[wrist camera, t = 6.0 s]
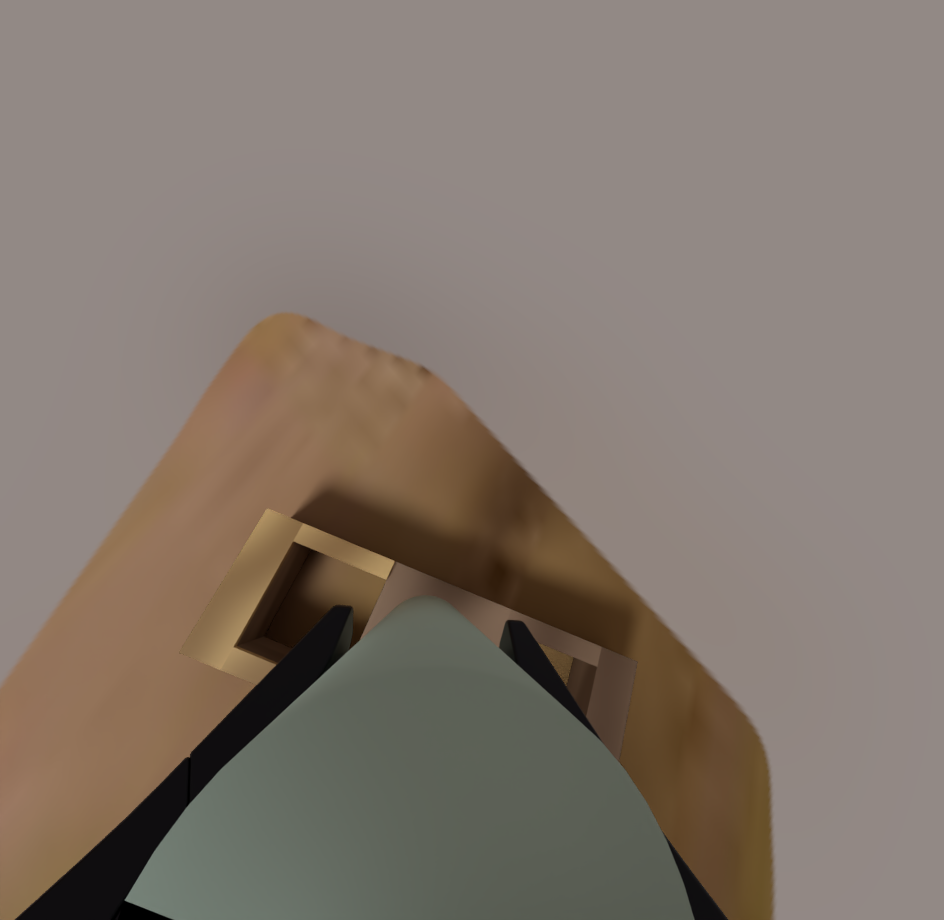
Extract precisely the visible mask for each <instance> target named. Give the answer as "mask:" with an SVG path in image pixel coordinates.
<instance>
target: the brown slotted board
mask: <svg viewBox="0 0 944 920" xmlns="http://www.w3.org/2000/svg"><path fill="white" fill-rule="evenodd" d="M311 549H313V550H316V551H318V552H320V553H323V554H325V555H328V556H330V557H333V558H335V559H337V560H340V561H342V562H345V563H347V564H349V565H352V566H354V567H357V568H359V569H361V570H364V571H366V572H369V573H371V574H374V575H376V576H378V577H381V578H383V579H386V580H387V581H386V583H385V585H384V587H383V589H382V592H381V594H380V596H379V598H378V601H377V603H376V605H375V607H374V609H373V612H372V614H371V616H370V618H369V621H368V623H367V625H366V627H365V629H364V632H363V634H362V636H361V638H360V640H361V639H362V638H363V637H364V636H365V635H366V634H367V633H368V632H369V631H370V630H372V629H373V628H374V627H375V626H376V625H377V624H378V623H379V622H380V621H381V620H382V619H383V618H385V617H386V616H387V615H388V614H389V613H390V612H391V611H392V610H393V609H394V608H395V607H396V606H398V605H399V604H400V603H402V602H403V601H405V600H407V599H410V598H412V597H416V596H423V595H428V596H435V597H438V598H441V599H443V600H445V601H447V602H448V603H450V604H451V605H452V606H453V607H454V608H455V609H456V610H458V611H459V612H460V613H461V614H462V615H463V616H464V617H465V618H466V619H468V620H469V621H470V622H471V623H472V624H473V625H474V626H475V627H476V628H477V629H479V630H480V631H481V632H482V633H483V634H484V635H485V636H486V637H487V638H488V639H490V640H491V641H492V642H493V643H494V644H495V645H496V646H497V647H498V648H499V644H500V640H501V636H502V632H503V629H504V625H505V622H506V621H507V620H520V621H523V622H524V623H525V624H526V626H527V627H528V629H529V630H530V632H531V634H532V635H533V637H534V638H535V640H536V641H537V642H538V643H541V644H543V645H545V646H548V647H550V648H553V649H555V650H558V651H560V652H562V653H565V654H567V655H570V656H572V657H574V659H573V663H572V667H571V671H570V675H569V679H568V683H567V688H568V690H569V691H570V693H571V695H572V696H573V698H574V699H575V701H576V702H577V704H578V705H579V707H580V708H581V710H582V711H583V713H584V714H585V716H586V717H587V719H588V720H589V722H590V724H591V725H592V727H593V728H594V730H595V731H596V733H597V734H598V736H599V737H600V739H601V740H602V742H603V743H604V745H605V746H606V748H607V749H608V750H609V751H610V752H611V754H612V755H613V756H614V757H615V758H616V760H617V761H618V762H619V759H620V754H621V749H622V743H623V738H624V732H625V727H626V722H627V716H628V711H629V706H630V700H631V695H632V689H633V684H634V679H635V673H636V668H637V661H635V660H632V659H630V658H627V657H625V656H623V655H620V654H618V653H615V652H613V651H611V650H608V649H606V648H603V647H601V646H598V645H596V644H594V643H591V642H589V641H586V640H584V639H582V638H579V637H577V636H574V635H572V634H570V633H567V632H565V631H562V630H560V629H557V628H555V627H553V626H550V625H548V624H545V623H543V622H541V621H538V620H536V619H533V618H531V617H528V616H526V615H524V614H521V613H519V612H516V611H514V610H512V609H509V608H507V607H504V606H502V605H499V604H497V603H495V602H492V601H490V600H487V599H485V598H483V597H480V596H478V595H475V594H473V593H470V592H468V591H466V590H463V589H461V588H458V587H456V586H454V585H451V584H449V583H446V582H444V581H441V580H439V579H437V578H434V577H432V576H429V575H427V574H425V573H422V572H420V571H417V570H415V569H413V568H410V567H408V566H405V565H403V564H400V563H398V562H396V561H393V560H391V559H389V558H386V557H384V556H381V555H379V554H377V553H374V552H372V551H369V550H367V549H364V548H362V547H360V546H357V545H355V544H352V543H350V542H348V541H345V540H343V539H340V538H338V537H335V536H333V535H331V534H328V533H326V532H323V531H321V530H319V529H316V528H314V527H311V526H309V525H307V524H304V523H302V522H299V521H297V520H294V519H292V518H290V517H287V516H285V515H282V514H280V513H278V512H275V511H273V510H270V509H268V508H267V509H266V511H265V513H264V514H263V516H262V517H261V519H260V521H259V522H258V524H257V526H256V527H255V529H254V531H253V532H252V534H251V535H250V537H249V539H248V540H247V542H246V544H245V545H244V547H243V549H242V550H241V552H240V553H239V555H238V557H237V558H236V560H235V562H234V563H233V565H232V566H231V568H230V570H229V571H228V573H227V575H226V576H225V578H224V580H223V581H222V583H221V584H220V586H219V588H218V589H217V591H216V593H215V594H214V596H213V598H212V599H211V601H210V602H209V604H208V606H207V607H206V609H205V611H204V612H203V614H202V616H201V617H200V619H199V620H198V622H197V624H196V625H195V627H194V629H193V630H192V632H191V634H190V635H189V637H188V638H187V640H186V642H185V643H184V645H183V647H182V648H181V650H180V652H179V653H180V654H183V655H185V656H188V657H190V658H192V659H195V660H197V661H200V662H202V663H204V664H207V665H209V666H212V667H214V668H216V669H219V670H221V671H224V672H226V673H228V674H231V675H233V676H236V677H238V678H240V679H243V680H245V681H248V682H250V683H252V684H255V685H257V684H258V683H259V682H260V681H261V680H262V679H263V678H264V677H265V676H266V675H267V674H268V673H269V672H270V671H271V670H272V669H273V668H274V667H275V666H276V665H277V664H278V663H279V661H280V660H281V659H282V658H283V657H284V656H285V655H286V654H287V653H288V652H289V651H290V650H291V649H292V648H290V647H288V646H285V645H283V644H281V643H278V642H276V641H273V640H271V639H269V638H266V637H264V635H265V633H266V631H267V629H268V628H269V626H270V624H271V622H272V620H273V618H274V617H275V615H276V613H277V611H278V609H279V607H280V605H281V604H282V602H283V600H284V598H285V596H286V594H287V593H288V591H289V589H290V587H291V585H292V583H293V581H294V580H295V578H296V576H297V574H298V572H299V570H300V568H301V567H302V565H303V563H304V561H305V559H306V557H307V556H308V554H309V552H310V550H311Z"/></svg>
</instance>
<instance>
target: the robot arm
mask: <svg viewBox="0 0 944 920" xmlns="http://www.w3.org/2000/svg"><path fill="white" fill-rule="evenodd" d="M352 634H353V608H352V607H351V606H346V605H335V606H333V607H332V608H331V609H330V610H329V611H328V612H327V613H326V614H325V615H324V616H323V617H322V618H321V619H320V620H319V621H318V622H317V623H316V624H315V625H314V627H313V628H312V629H311V630H310V631H309V632H308V633H307V634H306V635H305V636H304V637H303V638H302V639H301V640H300V641H299V642H298V643H297V644H296V645H295V646H294V647H293V648H292V649H291V650H290V651H289V652H288V653H287V654H286V655H285V656H284V657H283V658H282V659H281V660H280V661H279V663H278V664H277V665H276V666H275V667H274V668H273V669H272V670H271V671H270V672H269V673H268V674H267V675H266V676H265V677H264V678H263V679H262V680H261V681H260V682H259V683H258V684H257V685H256V686H255V687H254V688H253V689H252V690H251V691H250V692H249V693H248V694H247V695H246V696H245V697H244V699H243V700H242V701H241V702H240V703H239V704H238V705H237V706H236V707H235V708H234V709H233V710H232V711H231V712H230V713H229V714H228V715H227V716H226V717H225V718H224V719H223V720H222V721H221V722H220V723H219V724H218V725H217V726H216V727H215V728H214V729H213V730H212V731H211V732H210V733H209V735H208V736H207V737H206V738H205V739H204V740H203V741H202V742H201V743H200V744H199V745H198V746H197V747H196V748H195V749H194V750H193V751H192V752H191V754H190V758H189V757H187V758H185V759H184V760H183V761H182V762H181V763H180V764H179V765H178V766H177V767H176V768H175V769H174V770H173V771H172V772H171V773H170V774H169V775H168V776H167V778H166V779H165V780H164V781H163V782H162V783H161V784H160V785H159V786H158V787H157V788H156V789H155V790H154V791H153V792H152V793H151V794H150V795H149V796H148V797H147V798H145V799H144V800H143V801H142V802H141V803H140V804H139V805H138V806H137V807H136V808H135V809H134V810H133V811H132V812H131V813H130V814H129V815H128V816H127V817H126V818H125V819H124V820H123V821H122V822H121V823H120V824H119V825H118V826H117V827H116V828H115V829H113V830H112V831H111V832H110V833H109V834H108V835H107V836H106V837H105V838H104V839H103V840H102V841H101V842H99V843H98V844H97V845H96V846H95V847H94V848H93V849H92V850H91V851H90V852H89V853H88V854H87V855H85V856H84V857H83V858H82V859H81V860H80V861H79V862H78V863H77V864H76V865H75V866H73V867H72V868H71V869H70V870H69V871H68V872H67V873H66V874H65V875H63V876H62V877H61V878H60V879H59V880H58V881H57V882H56V883H55V884H54V885H52V886H51V887H50V888H49V889H48V890H47V891H46V892H45V893H44V894H42V895H41V896H40V897H39V898H38V899H37V900H36V901H35V902H34V903H33V904H31V905H30V906H29V907H28V908H27V909H26V910H25V911H24V912H23V913H22V914H20V915H19V916H18V917H17V918H16V919H15V920H118V917H119V915H120V912H121V909H122V906H123V903H124V901H125V899H126V897H127V896H128V894H129V892H130V891H131V889H132V887H133V886H134V884H135V882H136V881H137V879H138V877H139V876H140V874H141V873H142V871H143V869H144V868H145V866H146V864H147V863H148V861H149V859H150V858H151V856H152V854H153V853H154V851H155V850H156V848H157V847H158V846H159V844H160V843H161V842H162V840H163V839H164V837H165V836H166V835H167V833H168V832H169V831H170V829H171V828H172V827H173V825H174V824H175V823H176V821H177V820H178V818H179V817H180V816H181V814H182V813H183V812H184V810H185V809H186V808H187V806H188V805H189V804H190V803H191V802H192V801H193V800H194V799H195V797H196V796H197V795H198V794H199V793H200V792H201V791H202V790H203V789H204V787H205V786H206V785H207V784H208V783H209V782H210V781H211V780H212V779H213V777H214V776H215V775H216V774H217V773H218V772H219V771H220V770H221V769H222V768H223V767H224V766H225V765H226V764H227V763H228V762H229V761H230V760H231V759H232V758H234V757H235V756H236V755H237V754H238V753H239V752H240V751H241V750H242V749H243V748H244V747H245V746H246V745H248V744H249V743H250V742H251V741H252V740H253V739H254V738H255V737H256V736H257V735H258V734H259V733H260V732H262V731H263V730H264V729H265V728H266V727H267V726H268V725H269V724H270V723H271V722H272V721H273V720H275V719H276V718H277V717H278V716H279V715H280V714H281V713H282V712H283V711H284V710H285V709H286V708H287V707H289V706H290V705H291V704H292V703H293V702H294V701H295V700H296V699H297V698H298V697H299V696H300V695H301V694H303V693H304V692H305V691H306V690H307V689H308V688H309V687H310V686H311V685H312V684H313V683H314V682H315V681H317V680H318V679H319V678H320V677H321V676H322V675H323V674H324V673H325V672H326V671H327V670H328V669H330V668H331V667H332V666H333V665H334V664H335V663H336V662H337V661H338V660H339V659H340V658H341V657H342V656H344V655H345V654H346V653H347V652H348V651H349V647H350V643H351V639H352ZM499 649H501V650H502V651H503V652H504V653H505V654H506V655H507V656H508V657H509V658H511V659H512V660H513V661H514V662H515V663H516V664H517V665H518V666H519V667H520V668H522V669H523V670H524V671H525V672H526V673H527V674H528V675H529V676H530V677H531V678H533V679H534V680H535V681H536V682H537V683H538V684H539V685H540V686H541V687H542V688H544V689H545V690H546V691H547V692H548V693H549V694H550V695H551V696H552V697H553V698H555V699H556V700H557V701H558V702H559V703H560V704H561V705H562V706H563V707H565V708H566V709H567V710H568V711H569V712H570V713H571V714H572V715H573V716H574V717H576V718H577V719H578V720H579V721H580V722H581V723H582V724H583V725H584V726H585V727H586V728H587V729H588V730H590V731H591V732H592V733H593V734H594V735H595V736H596V737H597V738H598V739H599V740H600V741H601V742H602V740H601V739H600V737H599V736H598V734H597V733H596V731H595V730H594V728H593V727H592V725H591V724H590V722H589V720H588V719H587V717H586V716H585V714H584V713H583V711H582V710H581V708H580V707H579V705H578V704H577V702H576V701H575V699H574V698H573V696H572V695H571V693H570V691H569V690H568V688H567V687H566V685H565V684H564V682H563V681H562V679H561V678H560V676H559V675H558V673H557V672H556V670H555V669H554V667H553V666H552V664H551V663H550V661H549V659H548V658H547V656H546V655H545V653H544V652H543V650H542V649H541V647H540V646H539V644H538V643H537V641H536V640H535V638H534V637H533V635H532V634H531V632H530V630H529V629H528V627H527V626H526V624H525V623H524V622H523V621H520V620H507V621H506V622H505V625H504V629H503V632H502V636H501V640H500V644H499ZM602 743H603V742H602ZM603 744H604V743H603ZM661 831H662V830H661ZM662 833H663V832H662ZM663 834H664V833H663ZM664 836H665V835H664ZM665 838H666V840H667V843H668V845H669V848H670V850H671V853H672V855H673V858H674V860H675V863H676V865H677V868H678V870H679V873H680V875H681V878H682V880H683V883H684V886H685V889H686V893H687V896H688V900H689V903H690V906H691V910H692V913H693V916H694V920H728V919H727V918H726V916H725V915H724V914H723V912H722V911H721V910H720V908H719V907H718V906H717V904H716V903H715V902H714V900H713V899H712V898H711V896H710V895H709V894H708V893H707V891H706V890H705V889H704V887H703V886H702V885H701V883H700V882H699V881H698V879H697V878H696V877H695V875H694V874H693V873H692V871H691V870H690V869H689V867H688V866H687V865H686V863H685V862H684V861H683V859H682V858H681V856H680V855H679V854H678V852H677V851H676V850H675V848H674V847H673V846H672V844H671V843H670V841H669V840H668V839H667V837H666V836H665Z"/></svg>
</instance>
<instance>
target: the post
mask: <svg viewBox="0 0 944 920" xmlns="http://www.w3.org/2000/svg"><path fill="white" fill-rule="evenodd" d="M118 920H694V916H693V913H692V910H691V906H690V903H689V900H688V896H687V893H686V889H685V886H684V883H683V880H682V878H681V875H680V873H679V870H678V868H677V865H676V863H675V860H674V858H673V855H672V853H671V850H670V848H669V845H668V843H667V840H666V838H665V836H664V834H663V833H662V831H661V829H660V827H659V825H658V823H657V821H656V819H655V817H654V815H653V813H652V811H651V809H650V808H649V806H648V804H647V802H646V800H645V799H644V797H643V796H642V794H641V793H640V791H639V790H638V788H637V787H636V785H635V784H634V782H633V781H632V779H631V778H630V776H629V775H628V773H627V772H626V770H625V769H624V768H623V767H622V765H621V764H620V763H619V762H618V761H617V760H616V758H615V757H614V756H613V755H612V754H611V752H610V751H609V750H608V749H607V748H606V746H605V745H604V744H603V743H602V742H601V741H600V740H599V739H598V738H597V737H596V736H595V735H594V734H593V733H592V732H591V731H590V730H588V729H587V728H586V727H585V726H584V725H583V724H582V723H581V722H580V721H579V720H578V719H577V718H576V717H574V716H573V715H572V714H571V713H570V712H569V711H568V710H567V709H566V708H565V707H563V706H562V705H561V704H560V703H559V702H558V701H557V700H556V699H555V698H553V697H552V696H551V695H550V694H549V693H548V692H547V691H546V690H545V689H544V688H542V687H541V686H540V685H539V684H538V683H537V682H536V681H535V680H534V679H533V678H531V677H530V676H529V675H528V674H527V673H526V672H525V671H524V670H523V669H522V668H520V667H519V666H518V665H517V664H516V663H515V662H514V661H513V660H512V659H511V658H509V657H508V656H507V655H506V654H505V653H504V652H503V651H502V650H501V649H499V648H498V647H497V646H496V645H495V644H494V643H493V642H492V641H491V640H490V639H488V638H487V637H486V636H485V635H484V634H483V633H482V632H481V631H480V630H479V629H477V628H476V627H475V626H474V625H473V624H472V623H471V622H470V621H469V620H468V619H466V618H465V617H464V616H463V615H462V614H461V613H460V612H459V611H458V610H456V609H455V608H454V607H453V606H452V605H451V604H450V603H448V602H447V601H445V600H443V599H441V598H438V597H435V596H428V595H423V596H416V597H412V598H410V599H407V600H405V601H403V602H402V603H400V604H399V605H398V606H396V607H395V608H394V609H393V610H392V611H391V612H390V613H389V614H388V615H387V616H386V617H385V618H383V619H382V620H381V621H380V622H379V623H378V624H377V625H376V626H375V627H374V628H373V629H372V630H370V631H369V632H368V633H367V634H366V635H365V636H364V637H363V638H362V639H361V640H360V641H359V642H358V643H356V644H355V645H354V646H353V647H352V648H351V649H350V650H349V651H348V652H347V653H346V654H345V655H344V656H342V657H341V658H340V659H339V660H338V661H337V662H336V663H335V664H334V665H333V666H332V667H331V668H330V669H328V670H327V671H326V672H325V673H324V674H323V675H322V676H321V677H320V678H319V679H318V680H317V681H315V682H314V683H313V684H312V685H311V686H310V687H309V688H308V689H307V690H306V691H305V692H304V693H303V694H301V695H300V696H299V697H298V698H297V699H296V700H295V701H294V702H293V703H292V704H291V705H290V706H289V707H287V708H286V709H285V710H284V711H283V712H282V713H281V714H280V715H279V716H278V717H277V718H276V719H275V720H273V721H272V722H271V723H270V724H269V725H268V726H267V727H266V728H265V729H264V730H263V731H262V732H260V733H259V734H258V735H257V736H256V737H255V738H254V739H253V740H252V741H251V742H250V743H249V744H248V745H246V746H245V747H244V748H243V749H242V750H241V751H240V752H239V753H238V754H237V755H236V756H235V757H234V758H232V759H231V760H230V761H229V762H228V763H227V764H226V765H225V766H224V767H223V768H222V769H221V770H220V771H219V772H218V773H217V774H216V775H215V776H214V777H213V779H212V780H211V781H210V782H209V783H208V784H207V785H206V786H205V787H204V789H203V790H202V791H201V792H200V793H199V794H198V795H197V796H196V797H195V799H194V800H193V801H192V802H191V803H190V804H189V805H188V806H187V808H186V809H185V810H184V812H183V813H182V814H181V816H180V817H179V818H178V820H177V821H176V823H175V824H174V825H173V827H172V828H171V829H170V831H169V832H168V833H167V835H166V836H165V837H164V839H163V840H162V842H161V843H160V844H159V846H158V847H157V848H156V850H155V851H154V853H153V854H152V856H151V858H150V859H149V861H148V863H147V864H146V866H145V868H144V869H143V871H142V873H141V874H140V876H139V877H138V879H137V881H136V882H135V884H134V886H133V887H132V889H131V891H130V892H129V894H128V896H127V897H126V899H125V901H124V903H123V906H122V909H121V912H120V915H119V917H118Z"/></svg>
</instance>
